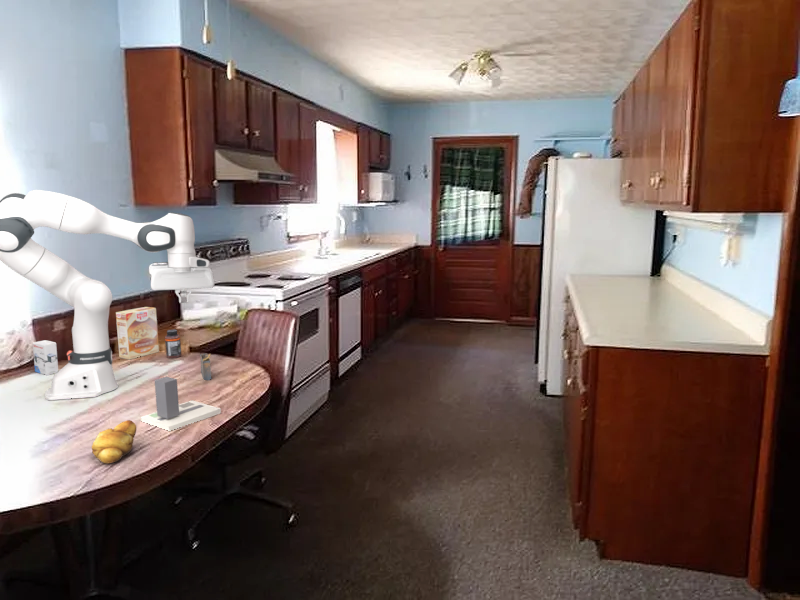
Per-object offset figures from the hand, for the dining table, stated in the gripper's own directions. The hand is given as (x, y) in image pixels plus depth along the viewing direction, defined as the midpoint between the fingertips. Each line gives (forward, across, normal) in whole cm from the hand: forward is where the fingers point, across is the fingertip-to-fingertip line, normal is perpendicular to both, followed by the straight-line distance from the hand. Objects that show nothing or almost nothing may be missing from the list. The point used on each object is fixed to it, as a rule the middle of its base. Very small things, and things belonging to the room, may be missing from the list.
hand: (183, 302), depth 205 cm
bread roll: (+32, -22, -49) cm, 63 cm away
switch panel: (+31, -4, -27) cm, 42 cm away
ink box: (+31, -48, +46) cm, 73 cm away
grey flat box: (+31, +8, +15) cm, 35 cm away
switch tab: (+29, -8, -30) cm, 42 cm away
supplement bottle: (+30, -2, +50) cm, 58 cm away
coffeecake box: (+30, -15, +60) cm, 69 cm away
